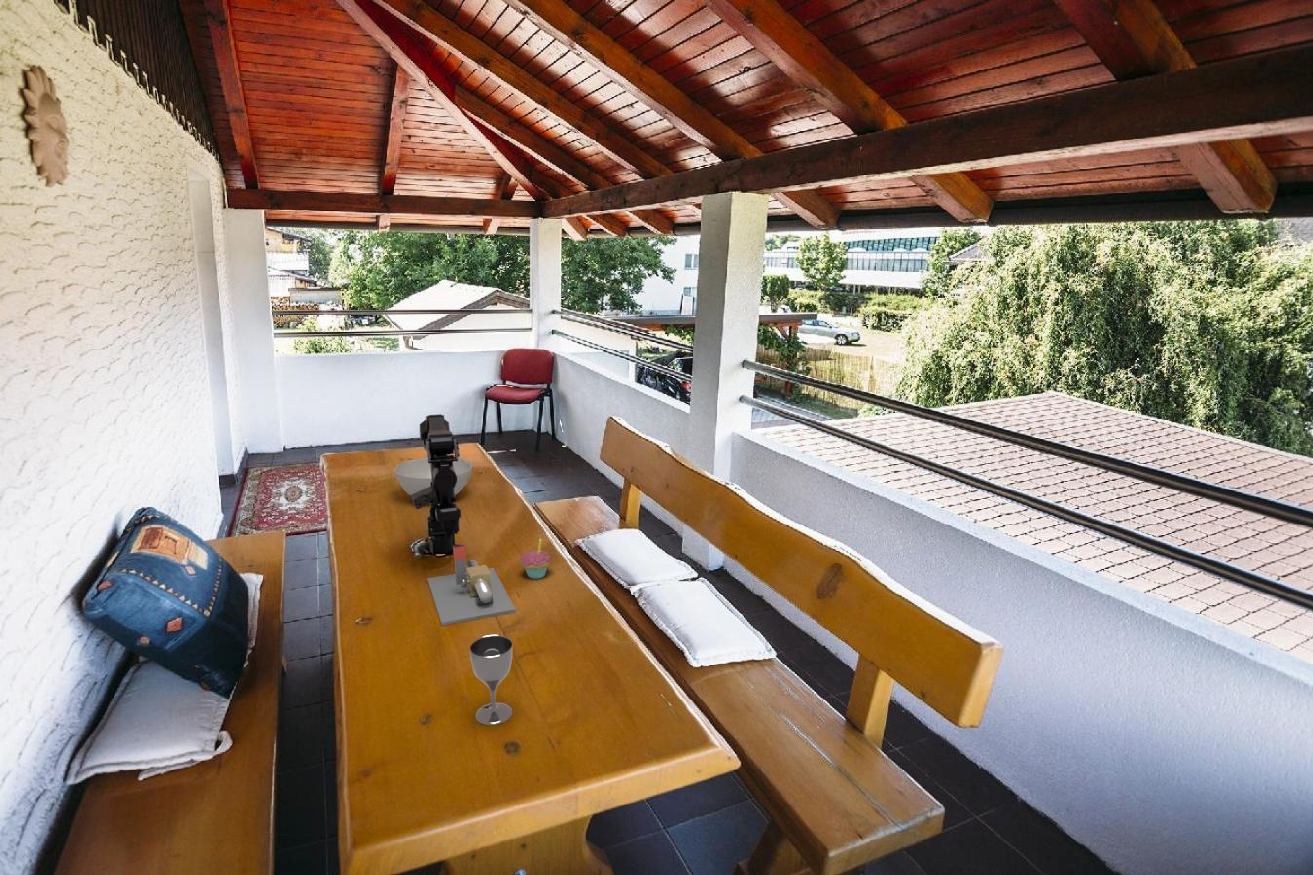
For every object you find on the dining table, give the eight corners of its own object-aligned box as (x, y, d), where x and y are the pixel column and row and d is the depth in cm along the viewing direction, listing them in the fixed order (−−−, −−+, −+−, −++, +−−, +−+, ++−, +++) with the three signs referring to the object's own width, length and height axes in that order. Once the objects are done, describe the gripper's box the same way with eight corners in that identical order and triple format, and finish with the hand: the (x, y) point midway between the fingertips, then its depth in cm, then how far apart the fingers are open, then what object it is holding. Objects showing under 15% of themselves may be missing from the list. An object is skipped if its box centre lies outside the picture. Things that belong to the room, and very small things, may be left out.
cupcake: (557, 572, 204) (556, 532, 201) (540, 584, 197) (539, 543, 194) (531, 566, 208) (530, 527, 205) (514, 577, 200) (512, 537, 197)
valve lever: (455, 586, 188) (452, 544, 185) (466, 584, 190) (464, 543, 187) (456, 590, 186) (454, 548, 183) (467, 588, 187) (465, 546, 184)
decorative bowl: (489, 496, 265) (488, 464, 262) (431, 517, 243) (429, 483, 240) (439, 482, 278) (437, 452, 275) (380, 501, 256) (377, 469, 253)
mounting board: (427, 580, 197) (427, 578, 197) (493, 570, 204) (493, 567, 204) (441, 625, 174) (441, 622, 174) (515, 611, 182) (515, 609, 181)
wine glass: (476, 701, 146) (473, 635, 142) (516, 700, 146) (514, 634, 143) (470, 727, 138) (466, 657, 134) (512, 725, 139) (509, 656, 135)
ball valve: (460, 577, 198) (459, 557, 196) (481, 574, 200) (480, 554, 199) (475, 610, 180) (473, 588, 179) (497, 606, 182) (496, 584, 181)
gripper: (408, 471, 201) (412, 524, 204) (415, 492, 184) (419, 549, 188) (449, 467, 205) (452, 519, 209) (460, 487, 188) (462, 543, 192)
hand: (446, 532), depth 199 cm, fingers open, 9 cm apart
